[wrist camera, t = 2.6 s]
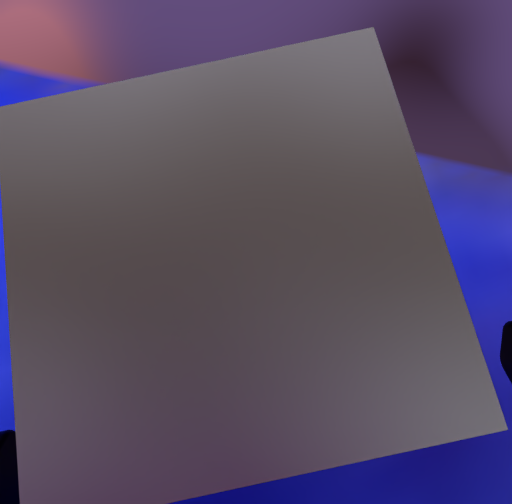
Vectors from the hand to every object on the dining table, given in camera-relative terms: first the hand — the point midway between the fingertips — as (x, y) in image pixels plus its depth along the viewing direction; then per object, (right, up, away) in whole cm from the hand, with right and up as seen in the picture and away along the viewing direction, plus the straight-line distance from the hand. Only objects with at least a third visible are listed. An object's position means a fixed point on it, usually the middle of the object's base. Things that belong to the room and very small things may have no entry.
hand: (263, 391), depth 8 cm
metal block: (0, -1, +9) cm, 9 cm away
